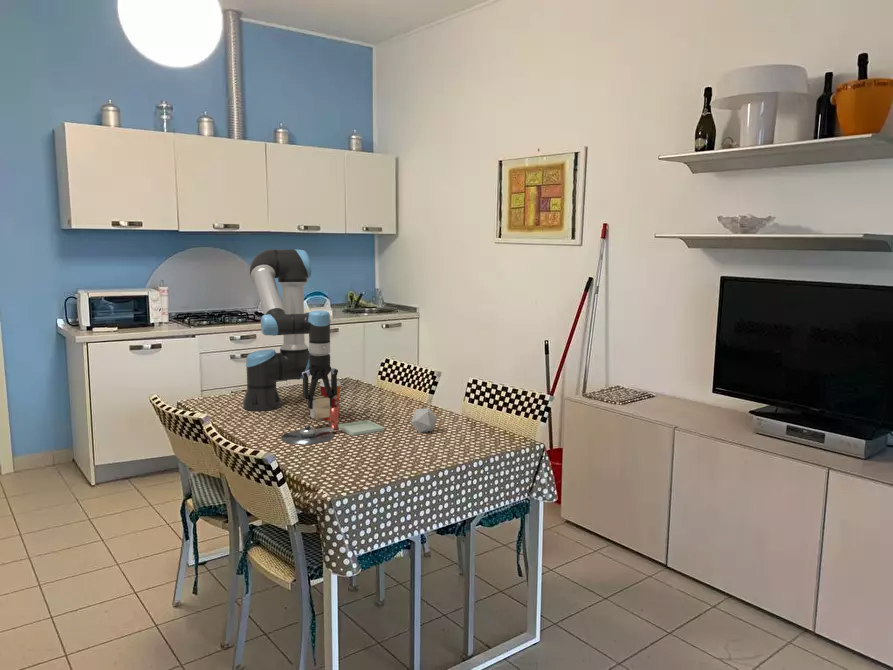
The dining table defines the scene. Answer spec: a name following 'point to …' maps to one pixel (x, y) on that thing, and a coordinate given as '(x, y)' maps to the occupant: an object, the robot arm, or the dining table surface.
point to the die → (423, 420)
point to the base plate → (296, 438)
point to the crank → (332, 427)
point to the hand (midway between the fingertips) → (320, 415)
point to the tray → (360, 428)
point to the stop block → (321, 407)
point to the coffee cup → (335, 398)
